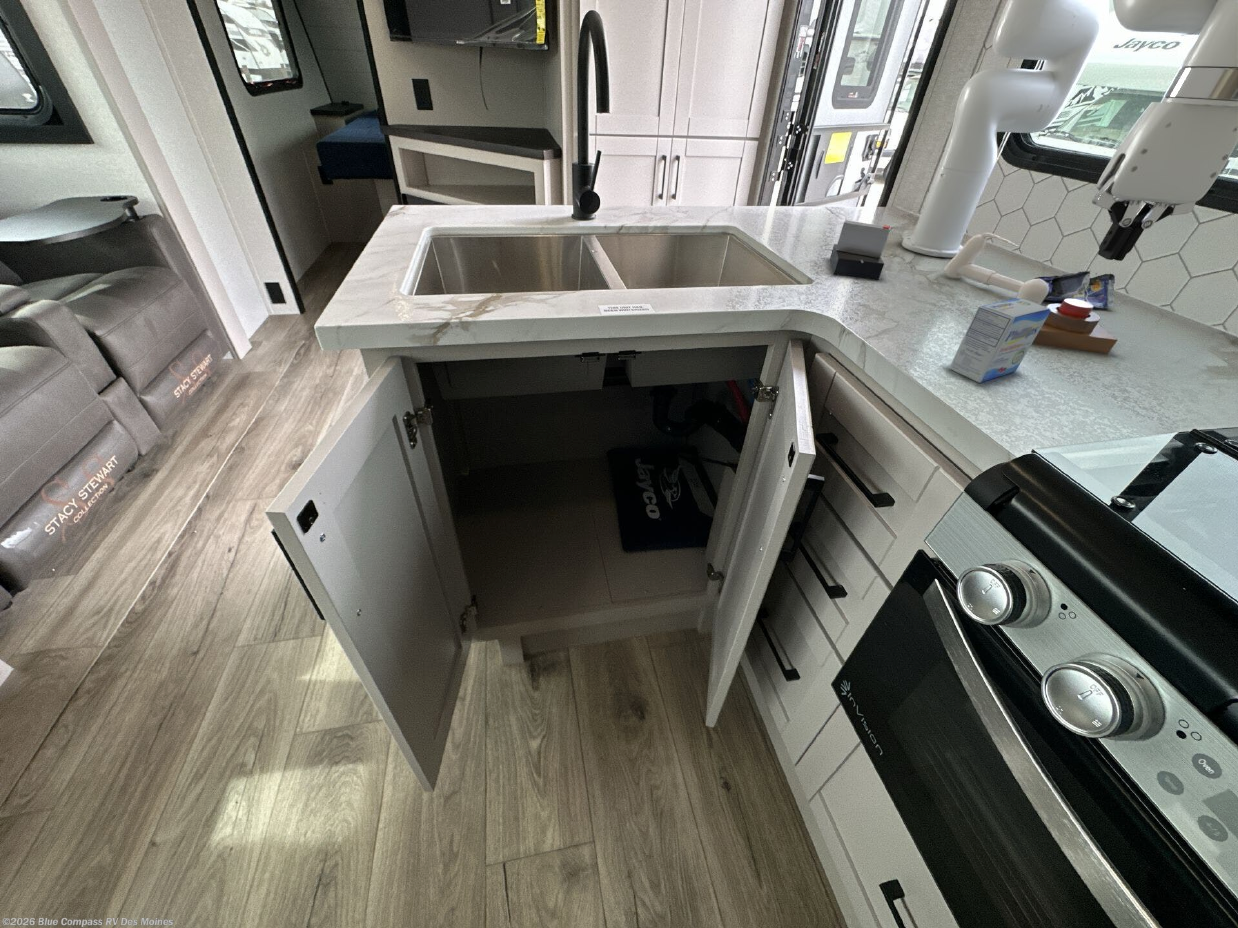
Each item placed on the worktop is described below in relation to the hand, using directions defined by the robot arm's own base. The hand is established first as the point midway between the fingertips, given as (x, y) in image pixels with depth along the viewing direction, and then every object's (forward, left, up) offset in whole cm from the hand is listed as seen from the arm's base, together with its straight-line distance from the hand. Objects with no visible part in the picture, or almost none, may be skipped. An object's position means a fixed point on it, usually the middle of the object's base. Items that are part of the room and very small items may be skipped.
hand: (1109, 257), depth 69 cm
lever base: (-23, -27, -12) cm, 38 cm away
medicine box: (+16, -15, -12) cm, 25 cm away
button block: (0, 0, -12) cm, 12 cm away
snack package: (-19, +8, -12) cm, 24 cm away
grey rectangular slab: (-23, -27, -9) cm, 37 cm away
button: (0, 0, -8) cm, 8 cm away
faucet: (-20, -4, -12) cm, 24 cm away
